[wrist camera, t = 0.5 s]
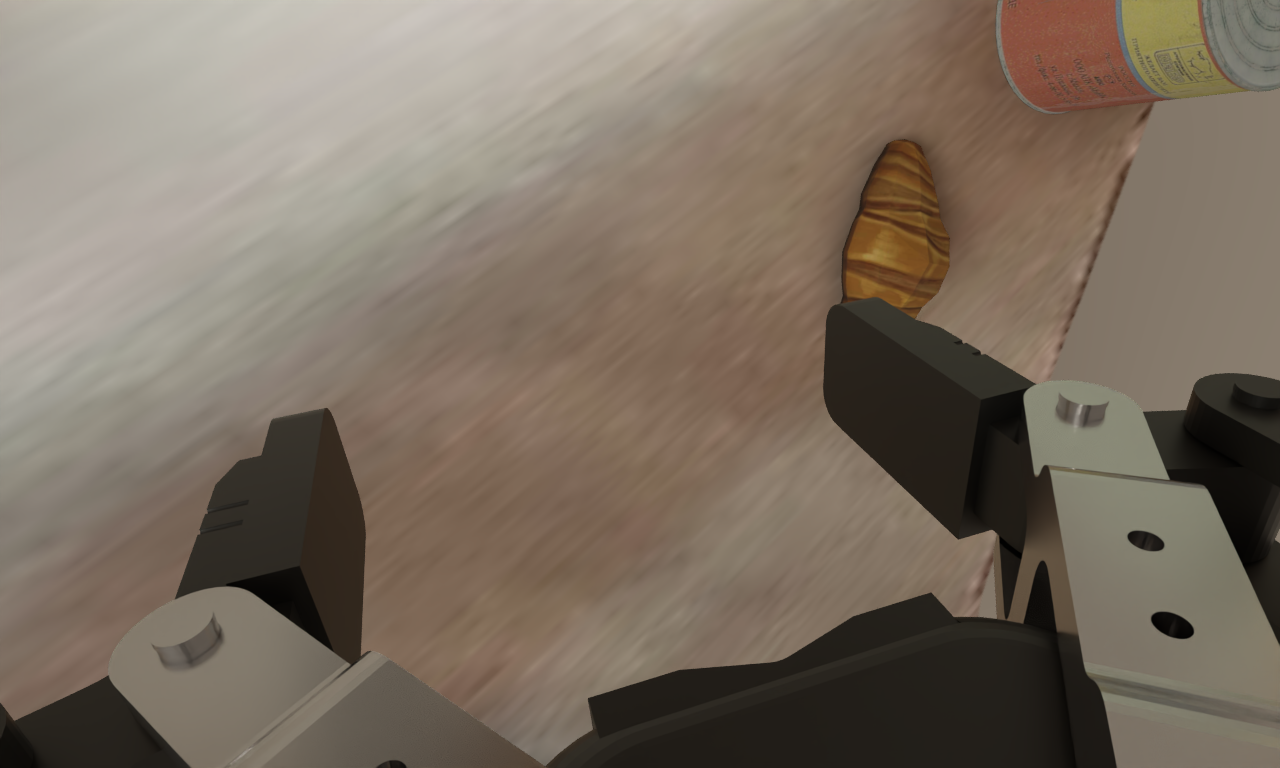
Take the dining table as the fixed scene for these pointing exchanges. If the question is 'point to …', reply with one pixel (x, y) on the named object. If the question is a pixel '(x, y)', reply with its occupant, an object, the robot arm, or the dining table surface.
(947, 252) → the croissant
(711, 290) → the dining table surface
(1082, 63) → the canned food
